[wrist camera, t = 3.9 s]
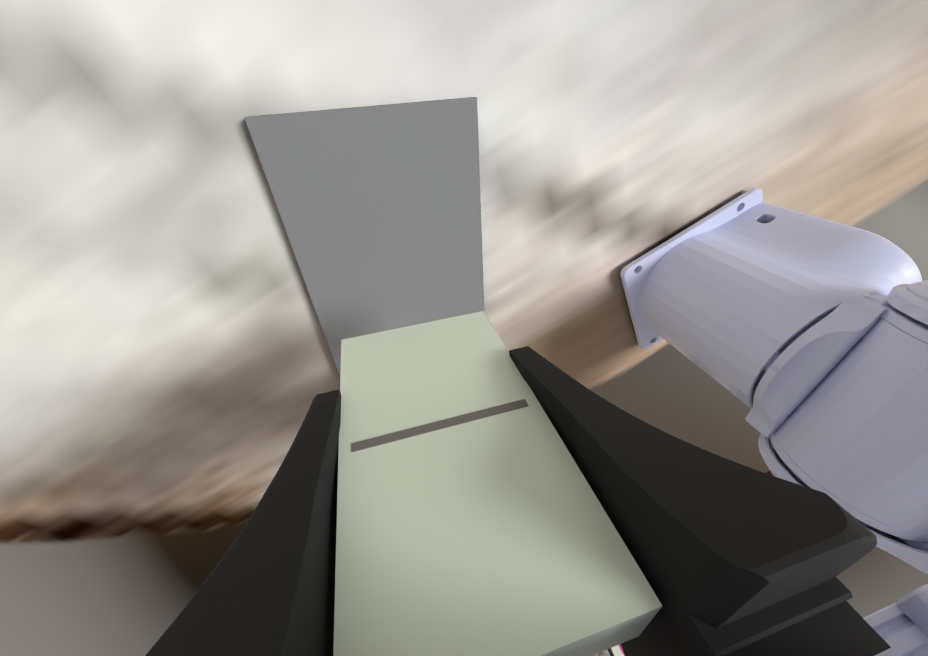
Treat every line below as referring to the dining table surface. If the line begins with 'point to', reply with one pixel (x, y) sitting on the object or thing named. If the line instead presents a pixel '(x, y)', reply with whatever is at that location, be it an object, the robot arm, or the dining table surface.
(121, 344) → the dining table surface
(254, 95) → the dining table surface
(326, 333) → the mat
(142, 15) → the dining table surface
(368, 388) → the sage domino
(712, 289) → the robot arm
